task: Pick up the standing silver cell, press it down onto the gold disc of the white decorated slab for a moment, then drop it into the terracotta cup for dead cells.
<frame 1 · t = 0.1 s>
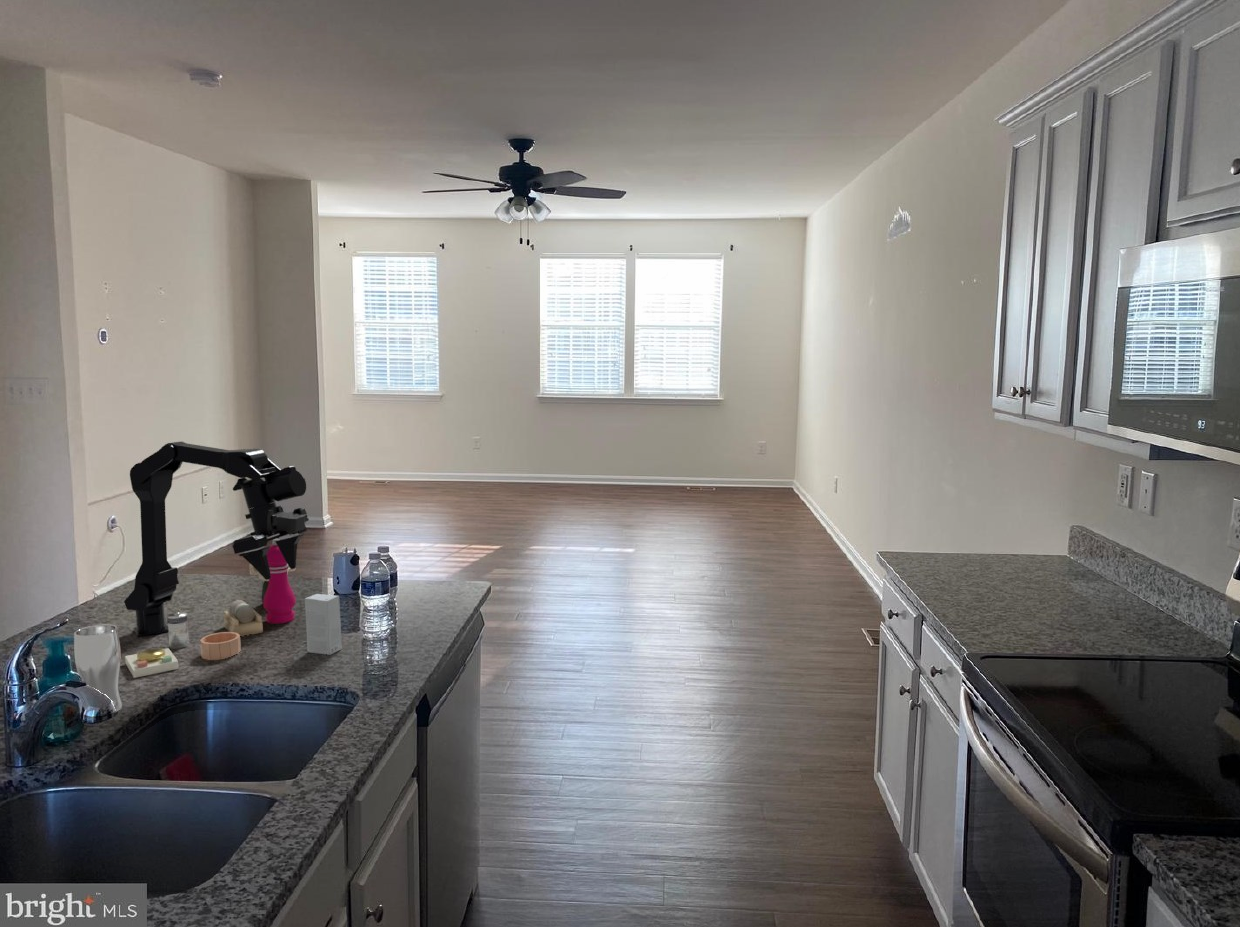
hand: (281, 573, 187), 15 cm above the worktop, tool pointing down, fingers open, 9 cm apart
beer glass: (102, 711, 152), on the worktop
cell: (179, 645, 186), on the worktop
white decorated slab: (151, 666, 174), on the worktop
pepper mill: (280, 620, 204), on the worktop
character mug: (274, 604, 217), on the worktop
cup: (221, 653, 181), on the worktop
trough rack: (243, 629, 197), on the worktop
gold disc: (151, 655, 173), point 2 cm above the worktop, slide at -0.2 cm
skincare box: (324, 651, 183), on the worktop
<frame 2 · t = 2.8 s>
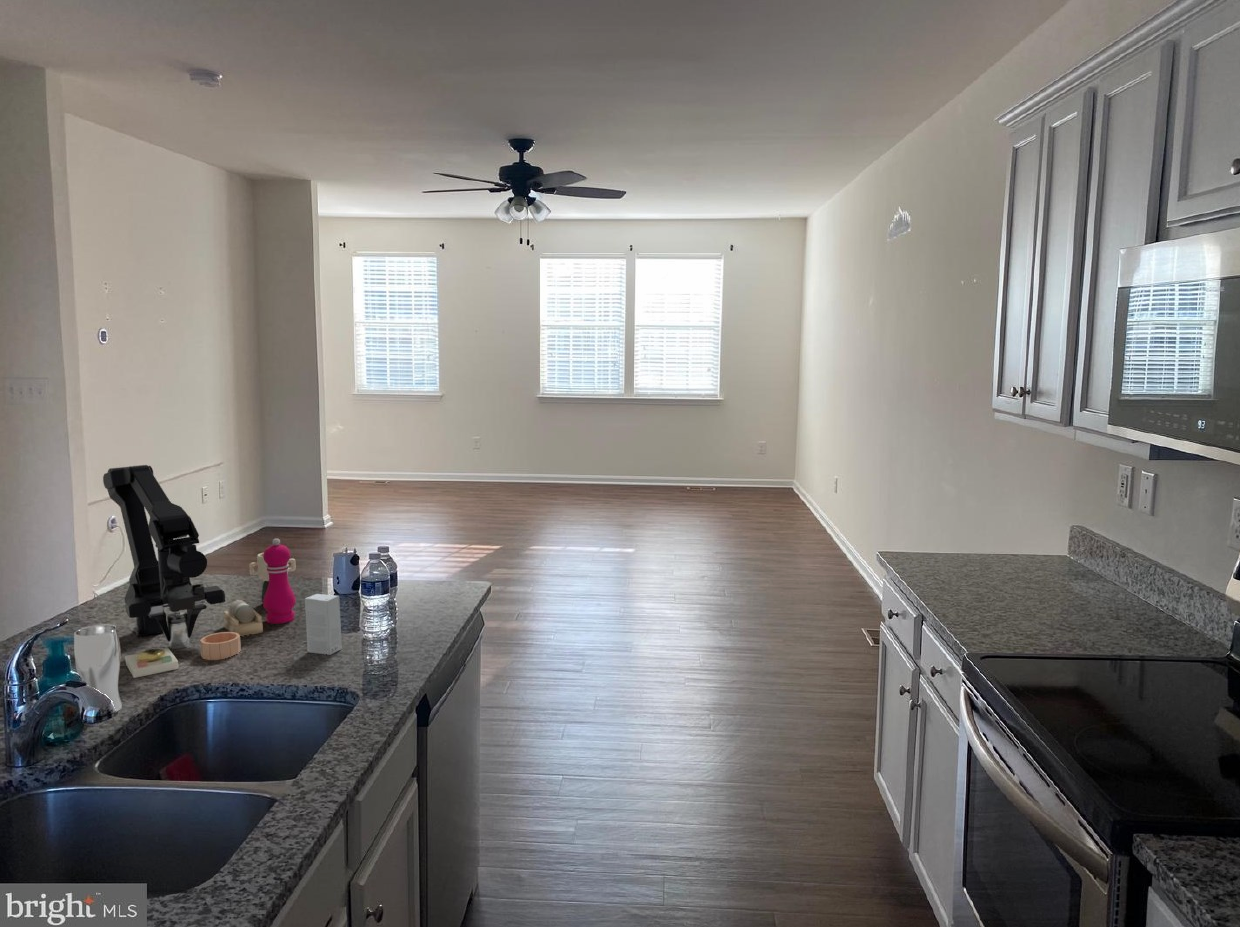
hand: (178, 639, 186), 2 cm above the worktop, tool pointing down, fingers closed on cell, 4 cm apart
cell: (179, 645, 186), on the worktop, touching gripper
everything else where it was.
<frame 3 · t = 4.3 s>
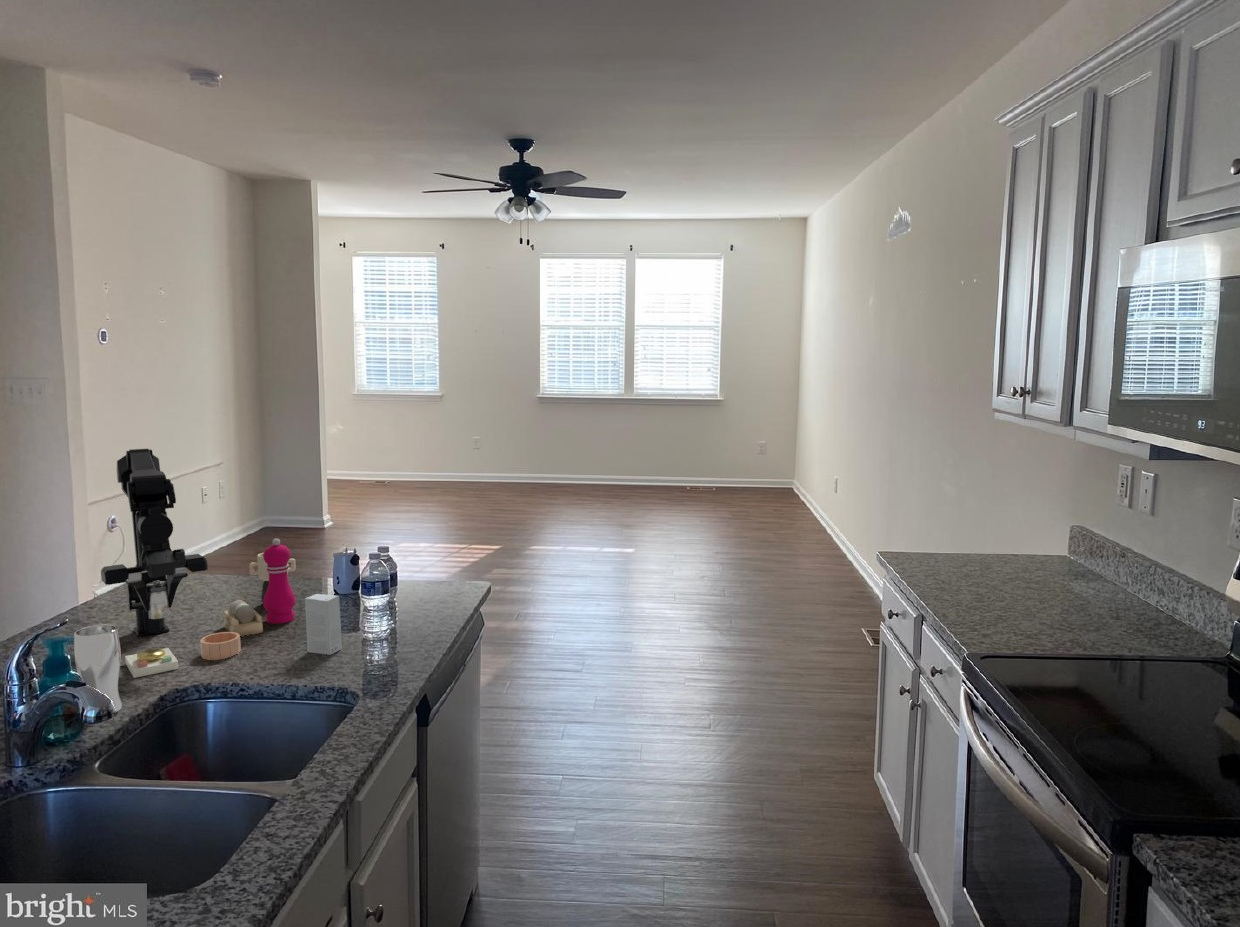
hand: (158, 609, 176), 11 cm above the worktop, tool pointing down, fingers closed on cell, 4 cm apart
cell: (159, 616, 176), point 9 cm above the worktop, touching gripper
everything else where it was.
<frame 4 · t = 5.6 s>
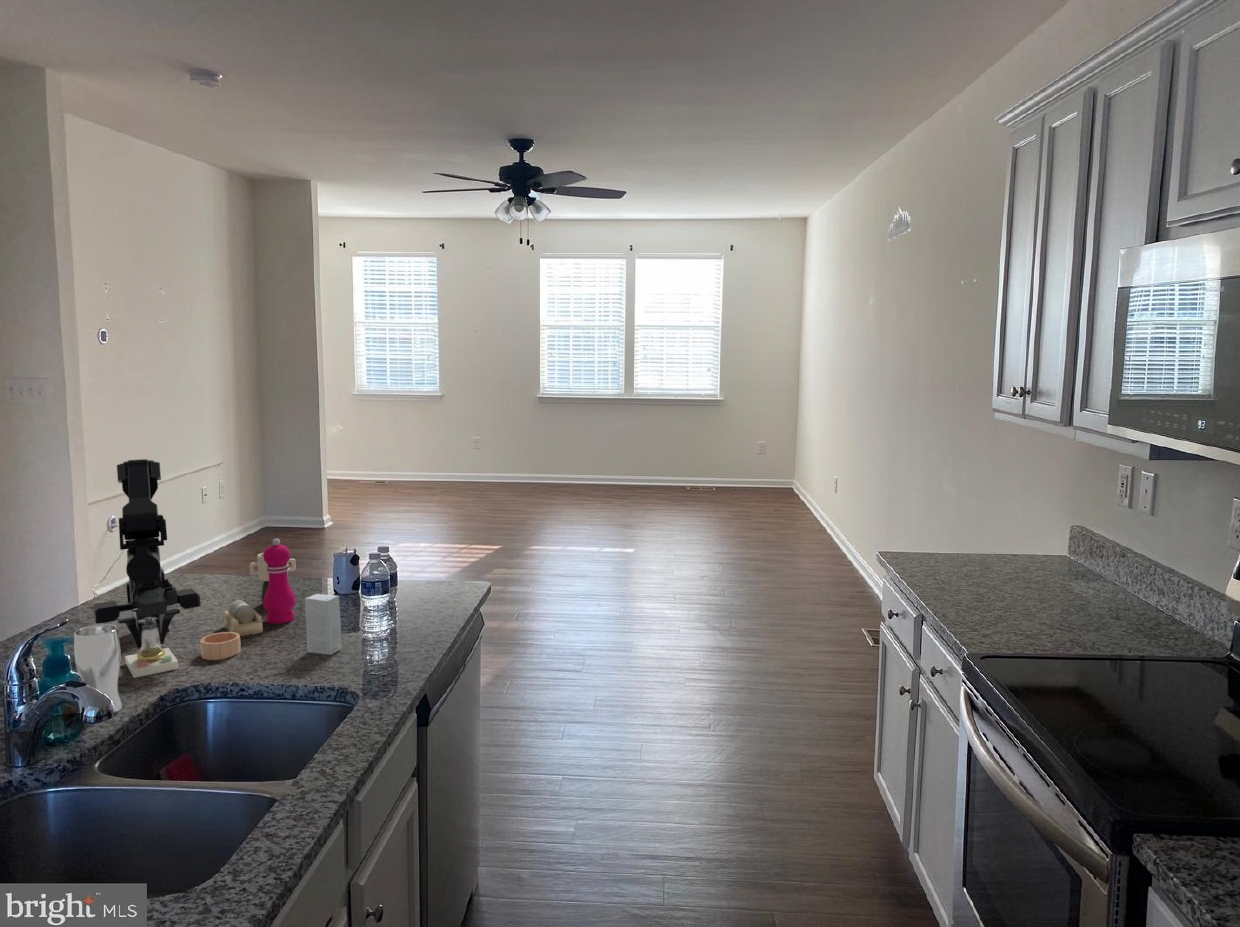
hand: (150, 645, 173), 4 cm above the worktop, tool pointing down, fingers closed on cell, 4 cm apart
cell: (151, 653, 173), point 3 cm above the worktop, touching gold disc, gripper
gold disc: (151, 655, 173), point 2 cm above the worktop, slide at -0.2 cm, touching cell
everything else where it was.
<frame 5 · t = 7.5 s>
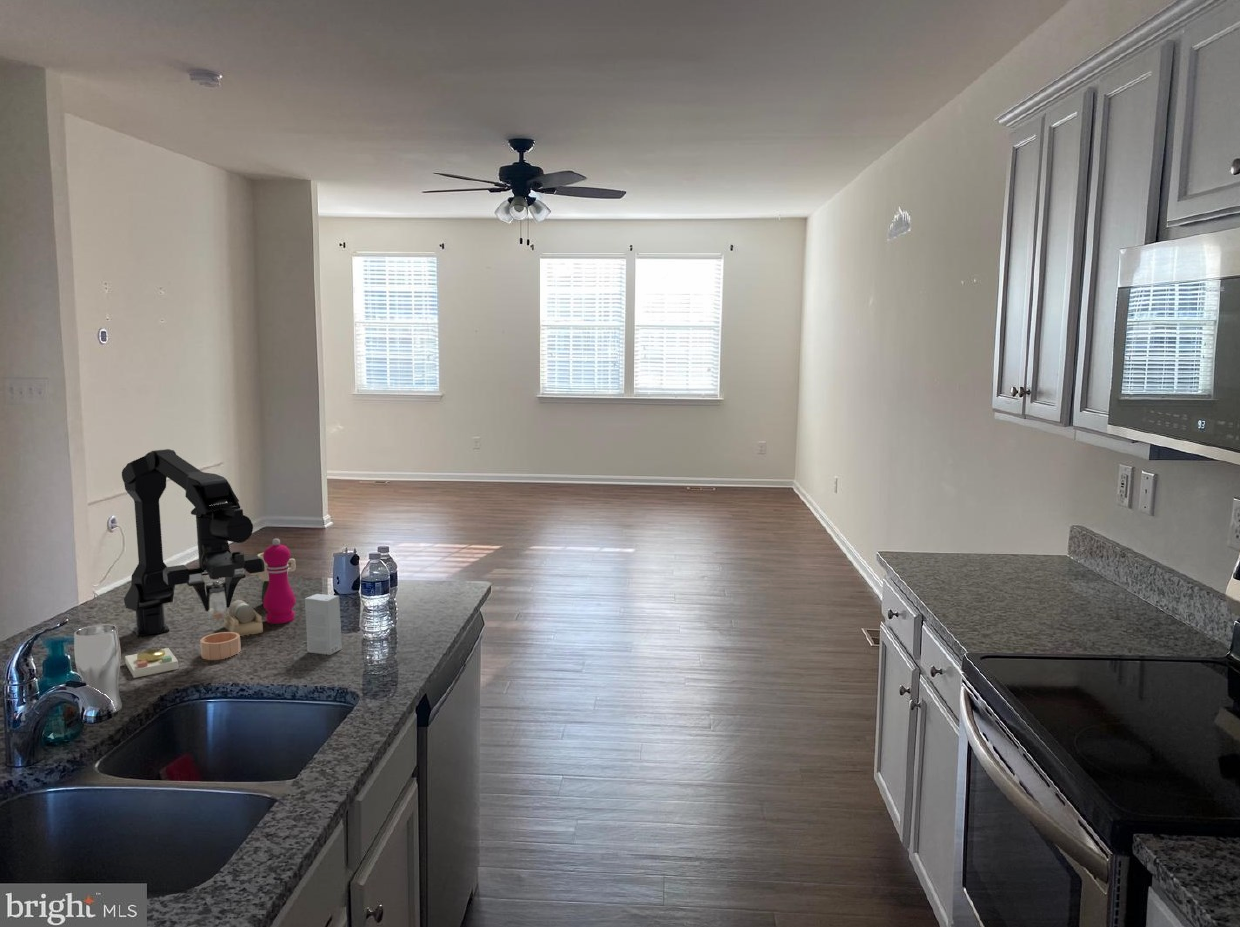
hand: (217, 609, 179), 10 cm above the worktop, tool pointing down, fingers closed on cell, 4 cm apart
cell: (217, 616, 180), point 8 cm above the worktop, touching gripper
gold disc: (151, 655, 173), point 2 cm above the worktop, slide at -0.3 cm
everything else where it was.
when the fingers open (4 cm above the worktop, at t = 8.7 s): cell drops 2 cm, resting on cup.
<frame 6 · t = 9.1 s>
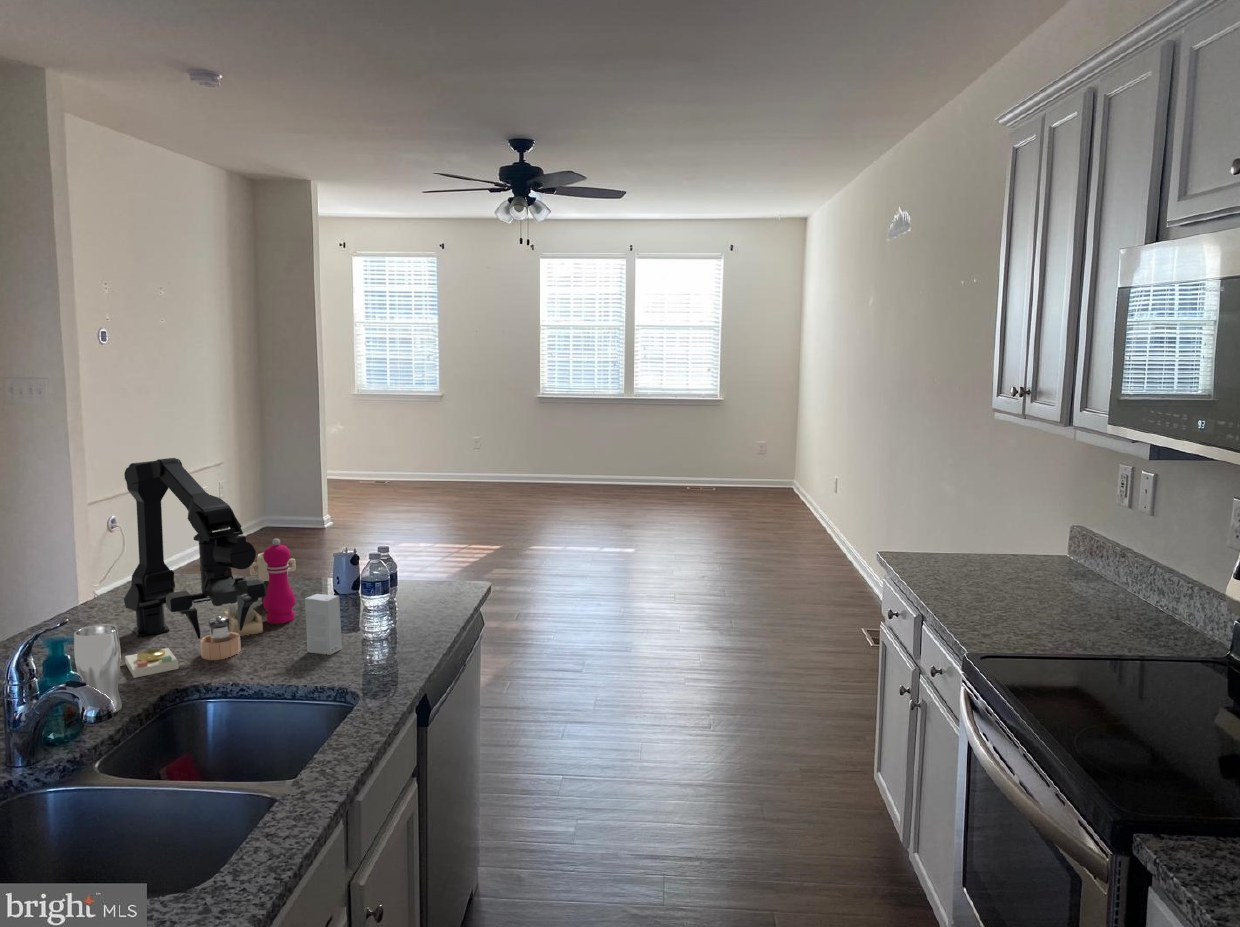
hand: (219, 634, 180), 4 cm above the worktop, tool pointing down, fingers open, 8 cm apart
cell: (221, 650, 181), point 1 cm above the worktop, touching cup
everything else where it was.
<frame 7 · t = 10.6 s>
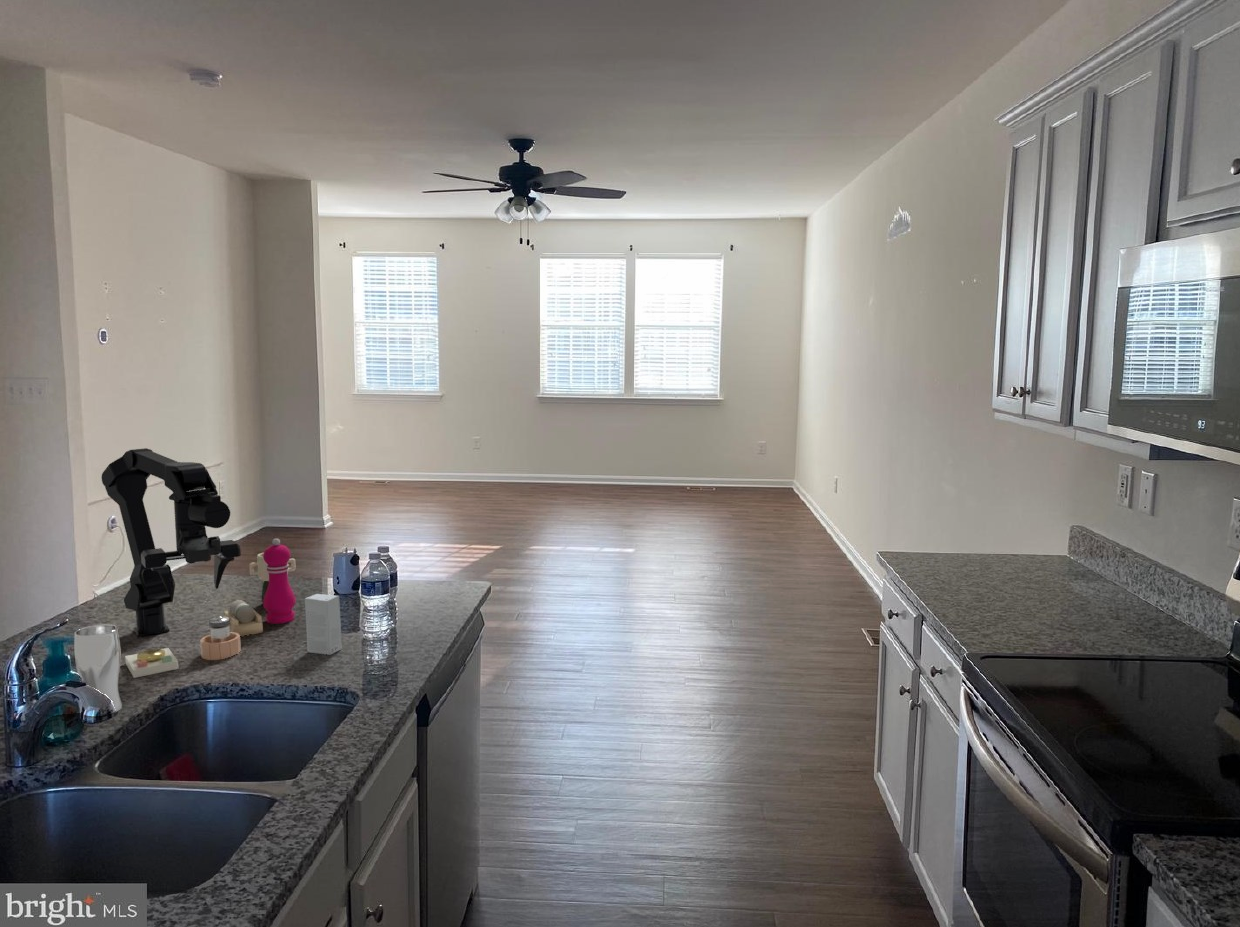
hand: (193, 591, 185), 12 cm above the worktop, tool pointing down, fingers open, 9 cm apart
nothing on the worktop moved.
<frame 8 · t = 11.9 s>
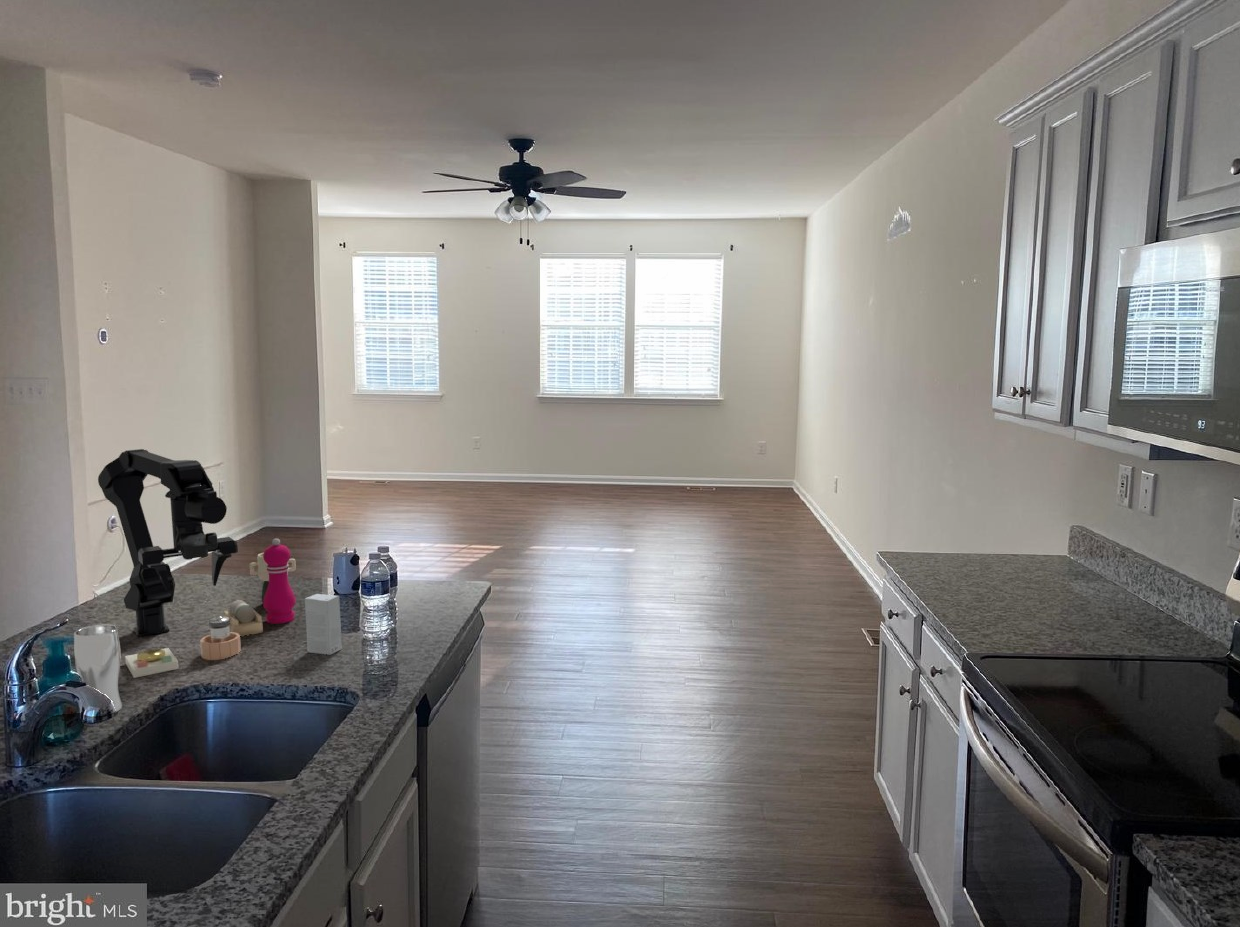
hand: (191, 589, 185), 13 cm above the worktop, tool pointing down, fingers open, 9 cm apart
nothing on the worktop moved.
at the end: cell 0.1 cm off-centre on the cup, point 0.6 cm above the cup's base; the gripper is holding nothing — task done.
